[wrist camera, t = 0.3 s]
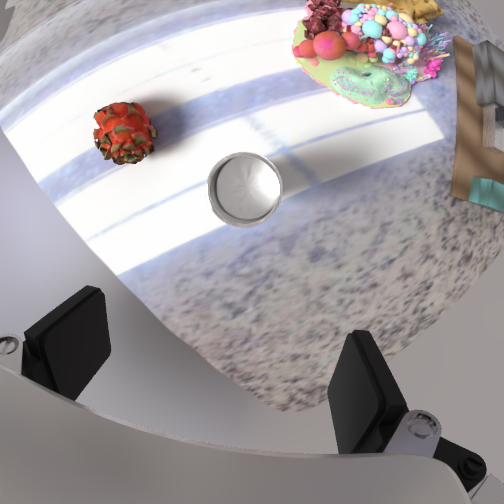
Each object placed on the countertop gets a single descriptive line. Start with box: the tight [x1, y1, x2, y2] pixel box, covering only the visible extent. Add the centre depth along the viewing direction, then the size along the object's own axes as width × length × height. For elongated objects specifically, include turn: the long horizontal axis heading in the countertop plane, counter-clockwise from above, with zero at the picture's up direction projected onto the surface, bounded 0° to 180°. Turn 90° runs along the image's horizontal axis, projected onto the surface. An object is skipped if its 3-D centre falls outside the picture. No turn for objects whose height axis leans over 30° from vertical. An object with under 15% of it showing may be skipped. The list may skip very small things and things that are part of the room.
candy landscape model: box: [292, 0, 452, 109], centre depth 26 cm, size 25×24×9 cm
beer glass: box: [206, 152, 283, 228], centre depth 31 cm, size 7×7×15 cm
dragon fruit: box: [93, 102, 158, 165], centre depth 34 cm, size 8×8×12 cm
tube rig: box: [450, 35, 504, 212], centre depth 28 cm, size 30×12×7 cm, turn 173°
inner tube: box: [483, 102, 504, 153], centre depth 24 cm, size 19×3×8 cm, turn 173°
